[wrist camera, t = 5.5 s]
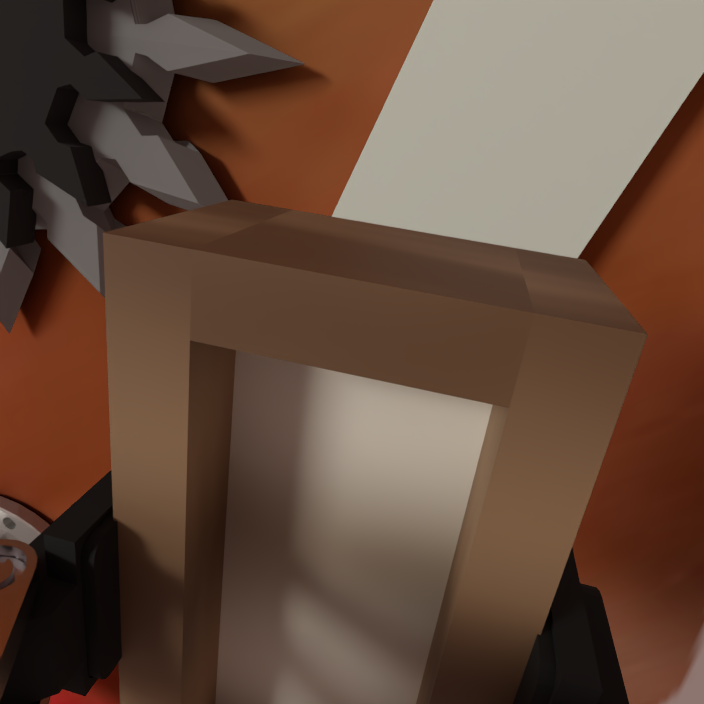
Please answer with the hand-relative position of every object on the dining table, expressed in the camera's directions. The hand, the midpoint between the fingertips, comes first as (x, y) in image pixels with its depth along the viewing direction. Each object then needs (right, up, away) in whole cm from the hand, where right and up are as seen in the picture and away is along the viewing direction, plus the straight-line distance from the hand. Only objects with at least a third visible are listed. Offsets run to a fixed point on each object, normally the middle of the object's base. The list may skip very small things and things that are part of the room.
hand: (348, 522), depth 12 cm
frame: (0, 0, +1) cm, 1 cm away
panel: (+7, +13, +12) cm, 19 cm away
